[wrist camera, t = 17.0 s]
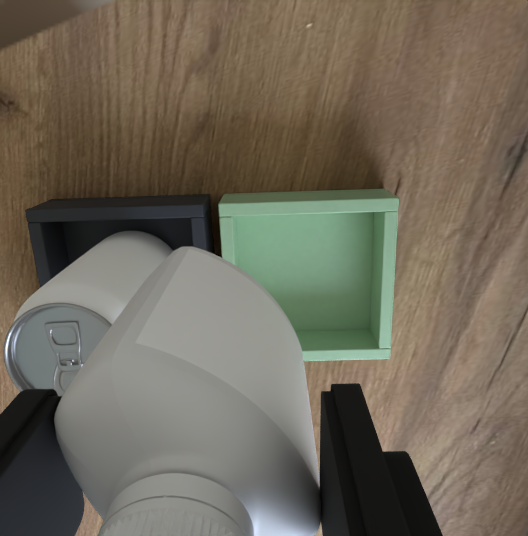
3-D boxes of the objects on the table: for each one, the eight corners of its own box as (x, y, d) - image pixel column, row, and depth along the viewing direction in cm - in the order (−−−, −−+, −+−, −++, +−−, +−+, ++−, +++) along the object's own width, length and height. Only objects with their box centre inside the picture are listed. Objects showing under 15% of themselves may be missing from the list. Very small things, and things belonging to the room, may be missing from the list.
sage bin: (223, 193, 31) (218, 203, 28) (384, 188, 31) (399, 197, 28) (232, 338, 35) (228, 363, 31) (378, 334, 34) (390, 359, 31)
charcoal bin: (50, 199, 31) (24, 209, 28) (210, 194, 31) (202, 204, 28) (76, 343, 35) (54, 368, 31) (220, 339, 35) (214, 363, 31)
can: (98, 320, 34) (11, 427, 22) (82, 231, 32) (-24, 298, 20) (189, 315, 33) (148, 420, 22) (178, 225, 31) (127, 289, 20)
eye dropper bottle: (264, 219, 15) (253, 564, 4) (309, 371, 17) (399, 940, 5) (134, 256, 15) (-256, 672, 4) (191, 400, 17) (33, 989, 6)
